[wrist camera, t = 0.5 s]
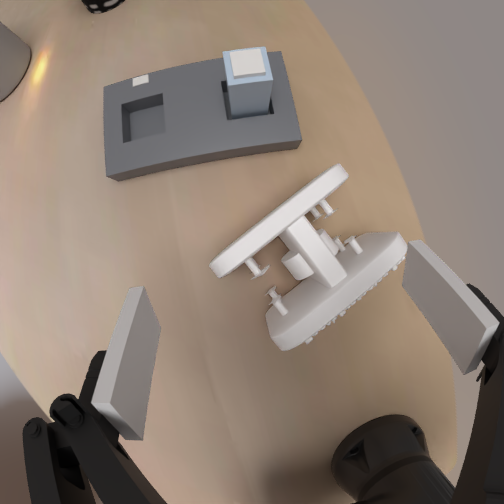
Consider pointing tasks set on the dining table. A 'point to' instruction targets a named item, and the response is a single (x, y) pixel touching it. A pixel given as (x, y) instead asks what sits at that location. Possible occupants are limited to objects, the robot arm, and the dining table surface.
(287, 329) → the cable organizer
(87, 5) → the spotted tube
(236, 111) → the plug
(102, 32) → the dining table surface
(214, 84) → the socket panel
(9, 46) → the cylinder vase
